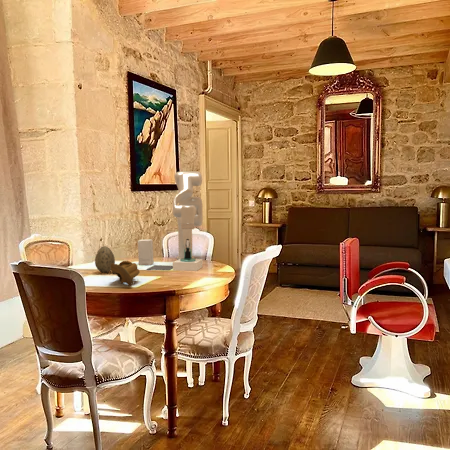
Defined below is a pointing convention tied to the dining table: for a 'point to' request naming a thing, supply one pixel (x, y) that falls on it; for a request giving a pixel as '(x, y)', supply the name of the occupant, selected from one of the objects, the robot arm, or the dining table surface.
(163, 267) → the mat
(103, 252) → the decorative egg
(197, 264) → the housing
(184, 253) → the end cover
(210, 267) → the dining table surface
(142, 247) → the skincare box
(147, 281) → the dining table surface
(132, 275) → the brown looped sculpture
